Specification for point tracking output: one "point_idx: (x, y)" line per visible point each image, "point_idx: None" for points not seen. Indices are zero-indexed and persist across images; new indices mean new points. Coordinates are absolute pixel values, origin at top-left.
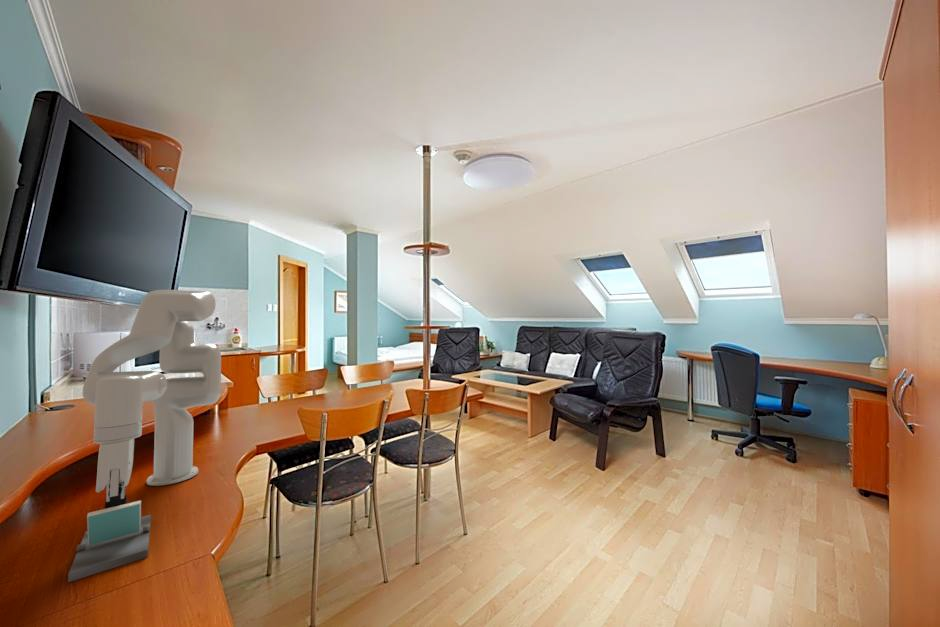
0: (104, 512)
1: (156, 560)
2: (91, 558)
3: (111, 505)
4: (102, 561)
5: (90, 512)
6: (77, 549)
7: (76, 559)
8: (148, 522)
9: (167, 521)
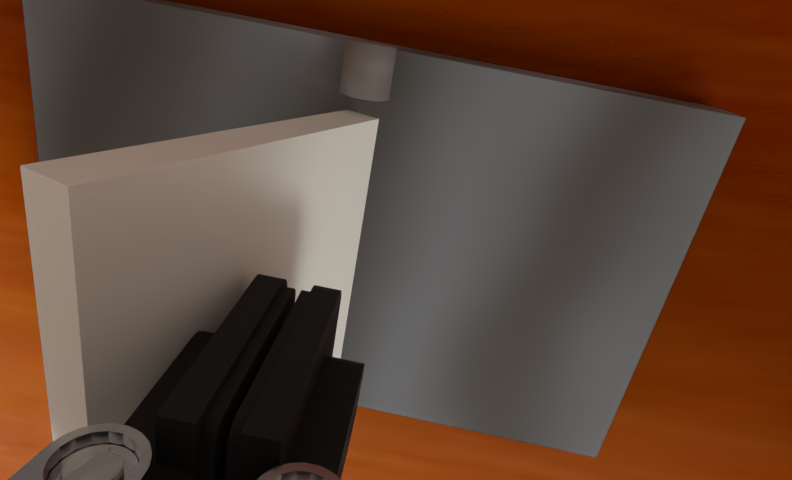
0: (48, 327)
1: (34, 333)
2: (158, 108)
3: (135, 423)
4: (65, 153)
5: (64, 215)
6: (345, 44)
7: (224, 30)
8: (464, 420)
9: (489, 467)
